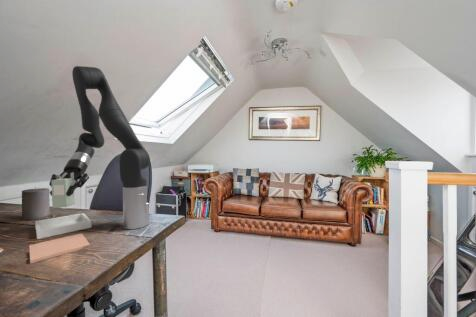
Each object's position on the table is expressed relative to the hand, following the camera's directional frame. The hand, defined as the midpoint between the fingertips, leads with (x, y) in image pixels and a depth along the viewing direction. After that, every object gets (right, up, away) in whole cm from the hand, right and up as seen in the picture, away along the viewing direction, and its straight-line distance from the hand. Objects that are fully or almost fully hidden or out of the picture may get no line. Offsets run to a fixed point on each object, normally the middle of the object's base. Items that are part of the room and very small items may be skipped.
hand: (60, 195), depth 81 cm
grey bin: (0, -15, +2) cm, 15 cm away
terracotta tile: (+12, -15, -14) cm, 24 cm away
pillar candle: (-27, -14, +18) cm, 35 cm away
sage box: (0, -5, +2) cm, 5 cm away
